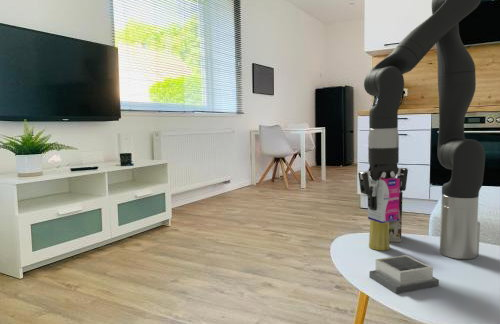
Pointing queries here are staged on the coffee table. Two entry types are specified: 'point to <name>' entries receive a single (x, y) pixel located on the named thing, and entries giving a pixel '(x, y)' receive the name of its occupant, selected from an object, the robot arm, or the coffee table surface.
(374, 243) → the vase
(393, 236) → the coffee box
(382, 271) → the square tray
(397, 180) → the supplement box
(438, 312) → the coffee table surface
